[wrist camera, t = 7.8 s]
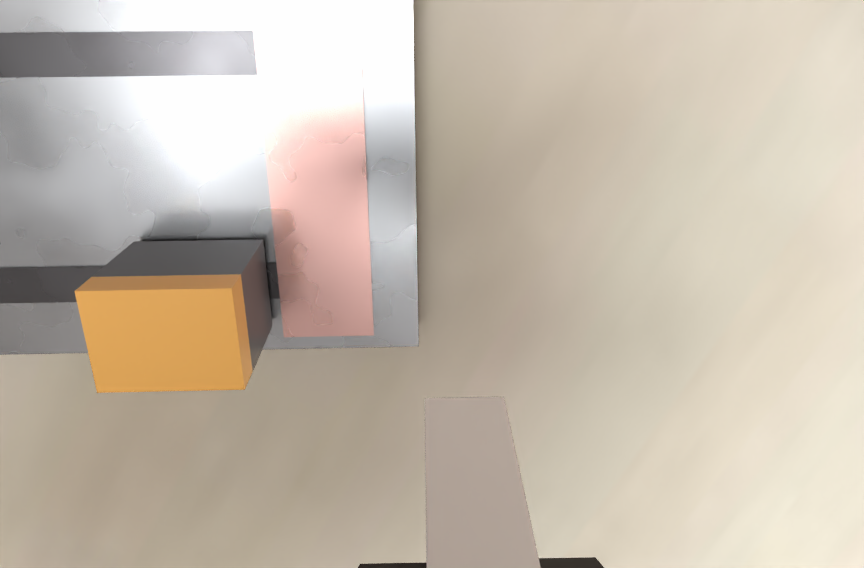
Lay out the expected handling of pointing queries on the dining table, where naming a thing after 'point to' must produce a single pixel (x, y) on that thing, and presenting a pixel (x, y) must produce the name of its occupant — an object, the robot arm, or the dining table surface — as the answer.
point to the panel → (211, 156)
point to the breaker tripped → (177, 316)
